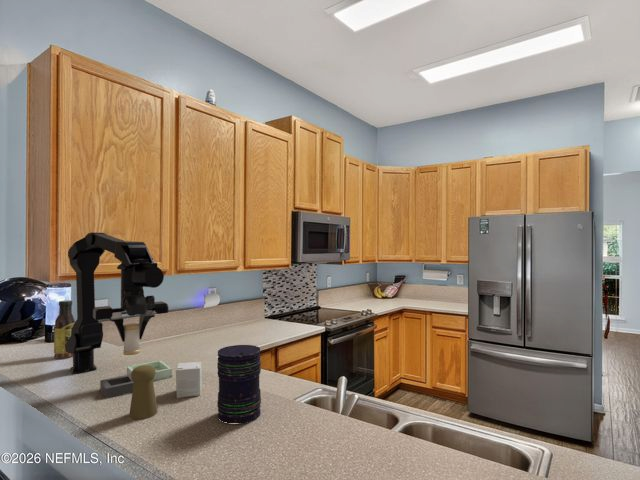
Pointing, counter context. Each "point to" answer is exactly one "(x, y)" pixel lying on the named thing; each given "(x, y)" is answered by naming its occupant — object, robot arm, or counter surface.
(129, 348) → the fuse
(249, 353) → the storage jar
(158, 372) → the parts tray
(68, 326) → the sauce bottle
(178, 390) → the skincare box
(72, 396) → the counter surface
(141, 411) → the olive pepper mill
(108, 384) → the socket block
